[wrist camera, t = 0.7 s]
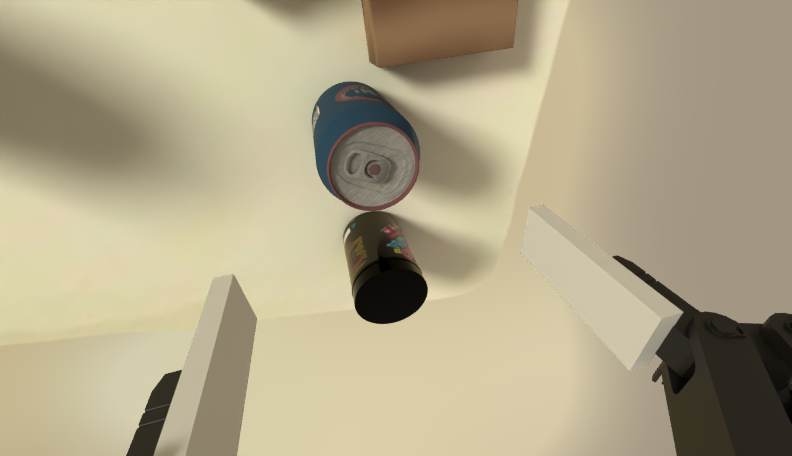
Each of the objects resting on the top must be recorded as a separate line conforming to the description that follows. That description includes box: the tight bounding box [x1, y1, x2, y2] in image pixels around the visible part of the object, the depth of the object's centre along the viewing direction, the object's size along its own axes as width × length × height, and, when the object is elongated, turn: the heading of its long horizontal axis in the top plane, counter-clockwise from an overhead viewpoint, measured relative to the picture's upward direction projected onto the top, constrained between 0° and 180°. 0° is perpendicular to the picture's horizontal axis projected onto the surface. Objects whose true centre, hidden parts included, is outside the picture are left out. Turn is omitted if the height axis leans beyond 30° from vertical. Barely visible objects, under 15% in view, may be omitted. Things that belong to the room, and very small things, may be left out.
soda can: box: [312, 82, 420, 211], centre depth 24 cm, size 7×7×12 cm
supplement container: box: [343, 211, 428, 324], centre depth 32 cm, size 7×7×10 cm
